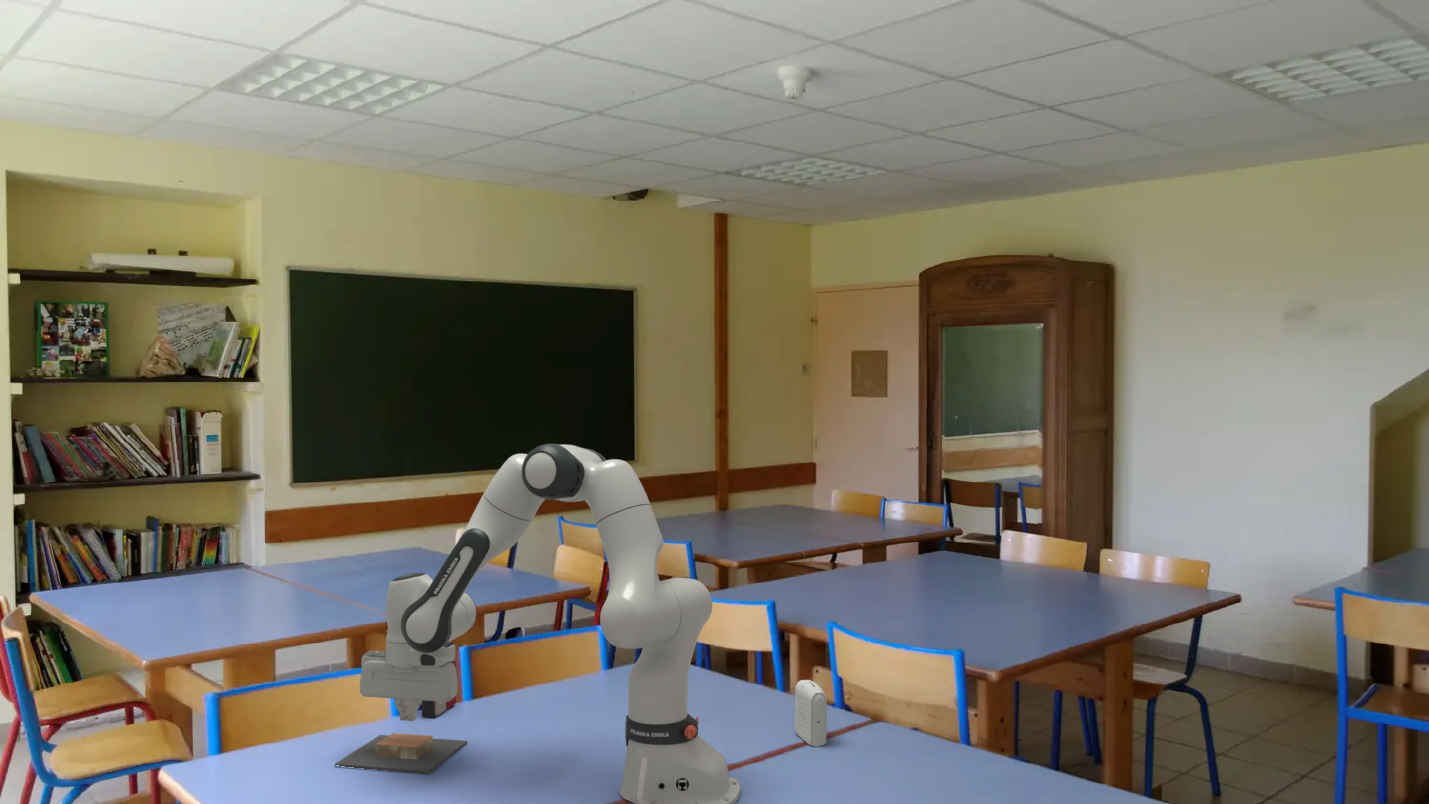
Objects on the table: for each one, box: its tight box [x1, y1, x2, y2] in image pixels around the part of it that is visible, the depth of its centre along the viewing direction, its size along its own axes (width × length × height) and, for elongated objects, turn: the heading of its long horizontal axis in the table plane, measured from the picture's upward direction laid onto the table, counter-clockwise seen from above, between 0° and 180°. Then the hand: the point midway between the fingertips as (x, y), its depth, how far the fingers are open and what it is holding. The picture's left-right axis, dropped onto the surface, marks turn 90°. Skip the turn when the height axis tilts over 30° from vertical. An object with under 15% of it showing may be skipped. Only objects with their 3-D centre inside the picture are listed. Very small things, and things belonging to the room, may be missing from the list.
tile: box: [375, 732, 434, 759], centre depth 215 cm, size 2×7×9 cm
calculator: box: [421, 641, 457, 719], centre depth 245 cm, size 11×4×15 cm, turn 168°
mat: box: [334, 734, 468, 775], centre depth 215 cm, size 20×18×1 cm
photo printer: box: [794, 679, 828, 747], centre depth 225 cm, size 10×4×12 cm, turn 17°
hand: (408, 719), depth 215 cm, fingers closed
